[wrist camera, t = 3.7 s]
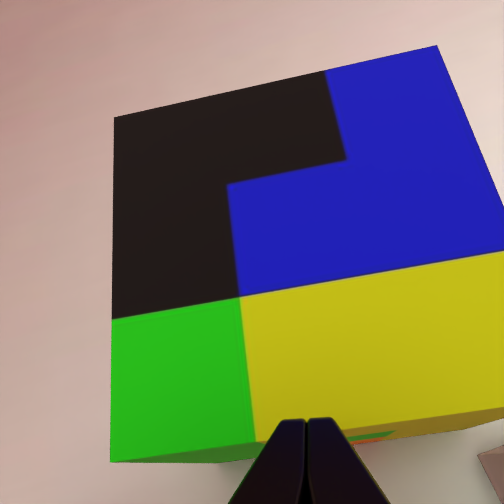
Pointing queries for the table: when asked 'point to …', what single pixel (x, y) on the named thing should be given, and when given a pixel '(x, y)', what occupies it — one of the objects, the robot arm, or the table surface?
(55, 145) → the table surface
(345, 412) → the puzzle toy
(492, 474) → the slate block
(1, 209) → the table surface
